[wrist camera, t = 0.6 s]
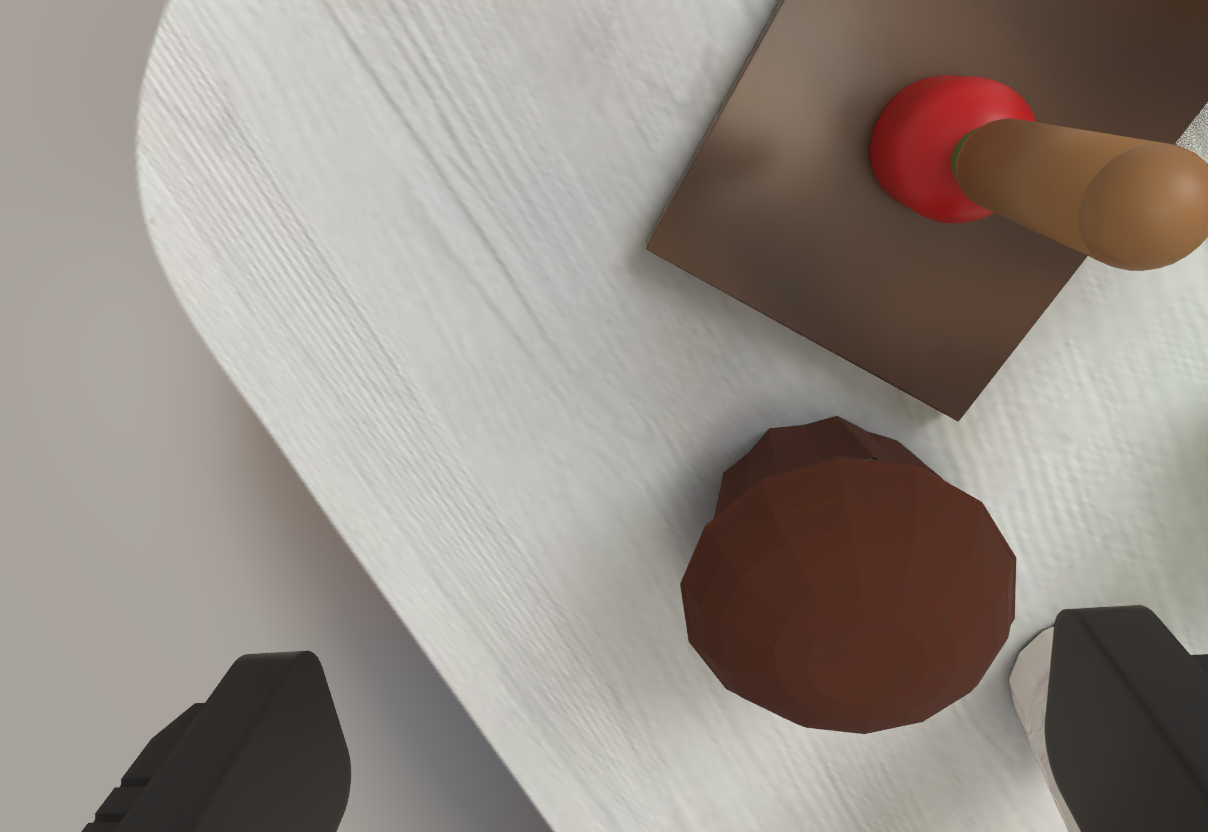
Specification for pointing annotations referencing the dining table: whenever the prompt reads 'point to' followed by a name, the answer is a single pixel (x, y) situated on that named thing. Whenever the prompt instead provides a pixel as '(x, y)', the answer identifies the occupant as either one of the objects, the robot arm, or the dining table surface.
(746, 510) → the muffin
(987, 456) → the dining table surface
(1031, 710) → the white cup
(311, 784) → the robot arm
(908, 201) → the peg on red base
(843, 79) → the serving board
